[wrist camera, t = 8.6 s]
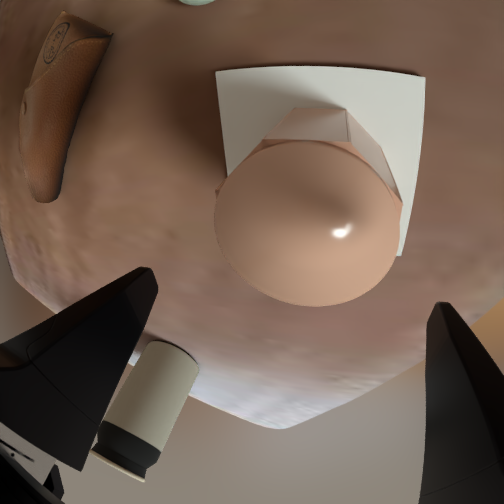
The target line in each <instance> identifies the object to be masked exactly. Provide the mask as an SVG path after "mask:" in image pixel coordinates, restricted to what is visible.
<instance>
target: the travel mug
mask: <svg viewBox="0 0 504 504" xmlns="http://www.w3.org/2000/svg"><path fill="white" fill-rule="evenodd" d="M198 373H199V367H198V365H197V364H196V362H195V361H194V360H193V359H192V358H191V357H190V356H189V355H188V354H187V353H185V352H184V351H182V350H181V349H179V348H178V347H175V346H173V345H171V344H168V343H164V342H159V341H152V342H149V343H148V345H147V346H146V348H145V349H144V351H143V353H142V354H141V356H140V358H139V359H138V361H137V363H136V364H135V366H134V368H133V369H132V371H131V373H130V374H129V376H128V378H127V379H126V381H125V383H124V385H123V386H122V388H121V390H120V391H119V393H118V395H117V396H116V398H115V400H114V402H113V403H112V405H111V407H110V409H109V410H108V412H107V414H106V416H105V417H104V419H103V421H102V423H101V424H100V426H99V429H98V431H97V436H98V443H96V444H95V446H94V447H93V448H92V449H90V451H89V453H91V454H92V455H93V456H95V457H97V458H98V459H100V460H102V461H103V462H105V463H107V464H108V465H110V466H112V467H114V468H116V469H117V470H119V471H121V472H123V473H125V474H127V475H129V476H131V477H133V478H135V479H137V480H139V481H141V482H145V474H146V469H147V468H149V467H150V466H152V465H153V464H155V463H156V462H157V460H158V458H159V456H160V454H161V451H162V450H163V447H164V445H165V443H166V441H167V439H168V437H169V435H170V432H171V430H172V428H173V426H174V424H175V422H176V420H177V417H178V415H179V413H180V411H181V409H182V407H183V405H184V403H185V400H186V398H187V396H188V394H189V392H190V390H191V388H192V385H193V383H194V381H195V379H196V377H197V375H198Z"/></svg>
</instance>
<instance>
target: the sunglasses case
mask: <svg viewBox="0 0 504 504" xmlns="http://www.w3.org/2000/svg"><path fill="white" fill-rule="evenodd" d="M112 35H113V34H110V32H108V31H106V30H104V29H102V28H100V27H98V26H96V25H94V24H92V23H90V22H88V21H85V20H83V19H81V18H79V17H77V16H74V15H71V14H67V13H66V11H64V10H63V11H62V12H61V13H60V15H59V16H58V17H57V19H56V20H55V22H54V23H53V25H52V27H51V29H50V30H49V33H48V35H47V37H46V39H45V41H44V44H43V46H42V48H41V51H40V53H39V56H38V58H37V61H36V64H35V67H34V70H33V74H32V77H31V80H30V84H29V87H28V88H26V89H25V91H24V95H23V100H22V104H21V109H20V117H19V127H20V136H19V151H20V154H21V158H22V163H23V169H24V173H25V177H26V181H27V185H28V188H29V190H30V193H31V196H32V198H33V199H34V200H35V201H37V202H40V203H49V202H52V201H54V200H56V199H57V198H58V196H59V194H60V190H61V184H62V179H63V173H64V166H65V163H66V158H67V152H68V148H69V146H70V142H71V138H72V135H73V132H74V129H75V126H76V122H77V119H78V116H79V113H80V110H81V107H82V105H83V102H84V100H85V97H86V94H87V92H88V89H89V87H90V84H91V82H92V79H93V77H94V75H95V73H96V70H97V68H98V66H99V64H100V62H101V60H102V57H103V55H104V53H105V51H106V49H107V47H108V45H109V43H110V40H111V37H112Z"/></svg>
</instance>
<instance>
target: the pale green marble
mask: <svg viewBox="0 0 504 504" xmlns="http://www.w3.org/2000/svg"><path fill="white" fill-rule="evenodd" d="M179 1H181V2H183V3H185V4H188V5H196V6H197V5H205V4H208V3H211V2H213V1H215V0H179Z"/></svg>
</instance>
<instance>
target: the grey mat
mask: <svg viewBox="0 0 504 504" xmlns="http://www.w3.org/2000/svg"><path fill="white" fill-rule="evenodd" d="M215 73H216V82H217V91H218V100H219V108H220V117H221V125H222V133H223V142H224V150H225V158H226V166H227V174H228V176H229V175H230V174H231V173H232V172H233V170H234V169H235V168H236V167H237V166H238V165H239V164H240V163H241V162H242V161H243V160H244V159H245V158H246V157H247V156H248V155H249V154H250V153H251V152H252V150H253V149H254V148H255V147H256V146H257V145H258V144H259V143H260V142H261V141H262V138H263V137H264V136H265V135H266V134H267V133H268V132H270V131H271V130H272V129H273V128H274V127H275V126H276V125H277V124H278V123H279V122H280V121H281V120H282V119H283V118H284V117H285V116H286V115H287V114H288V113H289V112H290V111H291V110H292V109H293V108H295V107H296V108H321V109H341V110H345V109H346V110H347V111H348V112H349V113H350V114H351V115H352V116H353V117H354V118H355V119H356V120H357V121H358V123H359V124H360V125H361V126H362V127H363V128H364V129H365V130H366V131H367V132H368V133H369V135H370V136H371V137H372V138H373V139H374V140H375V141H376V142H377V144H378V145H379V146H381V148H382V151H383V153H384V155H385V158H386V160H387V162H388V165H389V167H390V170H391V172H392V175H393V177H394V180H395V182H396V185H397V188H398V190H399V193H400V196H401V199H402V201H403V206H402V212H401V218H400V223H399V224H400V240H399V247H398V250H397V254H396V256H401V254H402V250H403V246H404V242H405V237H406V233H407V228H408V224H409V219H410V214H411V209H412V204H413V198H414V192H415V186H416V180H417V173H418V166H419V159H420V150H421V141H422V131H423V119H424V102H425V78H424V77H419V76H414V75H408V74H401V73H395V72H387V71H379V70H370V69H360V68H347V67H327V66H278V67H258V68H245V69H234V70H225V71H216V72H215Z"/></svg>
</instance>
